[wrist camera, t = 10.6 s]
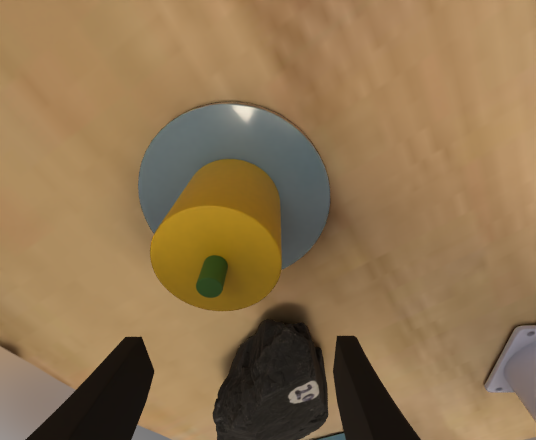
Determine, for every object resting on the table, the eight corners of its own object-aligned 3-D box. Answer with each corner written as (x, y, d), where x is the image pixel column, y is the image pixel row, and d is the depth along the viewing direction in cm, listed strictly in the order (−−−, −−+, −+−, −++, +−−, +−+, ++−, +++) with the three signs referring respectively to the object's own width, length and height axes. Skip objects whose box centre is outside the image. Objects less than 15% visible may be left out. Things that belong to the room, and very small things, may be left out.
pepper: (278, 156, 15) (280, 223, 9) (281, 242, 18) (283, 337, 12) (178, 160, 16) (115, 227, 10) (194, 244, 18) (154, 338, 12)
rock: (305, 300, 21) (313, 378, 16) (332, 381, 26) (345, 460, 21) (193, 322, 23) (169, 399, 18) (238, 394, 28) (229, 471, 23)
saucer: (334, 96, 15) (337, 98, 14) (323, 269, 20) (325, 277, 19) (119, 106, 15) (112, 108, 14) (165, 272, 21) (161, 280, 20)
